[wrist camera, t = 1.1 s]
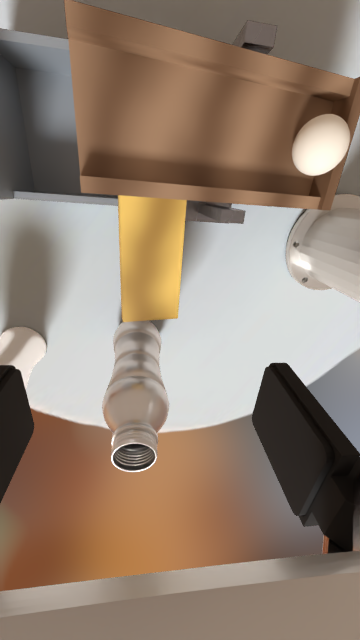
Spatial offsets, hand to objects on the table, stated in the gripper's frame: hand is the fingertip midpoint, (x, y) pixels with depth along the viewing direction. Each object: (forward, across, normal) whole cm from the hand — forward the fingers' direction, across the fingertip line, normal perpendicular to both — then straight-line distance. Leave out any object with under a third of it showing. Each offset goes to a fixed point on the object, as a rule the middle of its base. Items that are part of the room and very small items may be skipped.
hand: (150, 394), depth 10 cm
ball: (+15, -13, -11) cm, 23 cm away
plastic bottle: (+26, +1, +12) cm, 29 cm away
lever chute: (+20, -5, -6) cm, 22 cm away
